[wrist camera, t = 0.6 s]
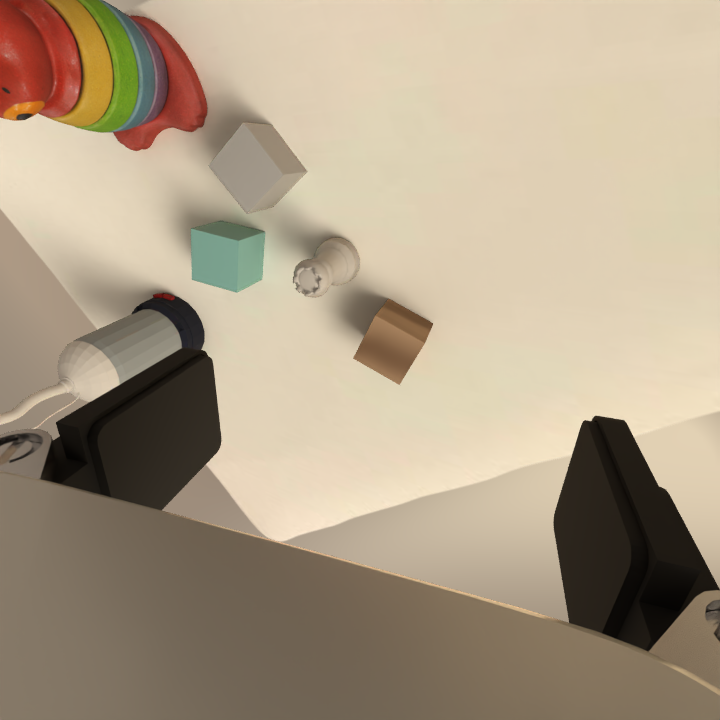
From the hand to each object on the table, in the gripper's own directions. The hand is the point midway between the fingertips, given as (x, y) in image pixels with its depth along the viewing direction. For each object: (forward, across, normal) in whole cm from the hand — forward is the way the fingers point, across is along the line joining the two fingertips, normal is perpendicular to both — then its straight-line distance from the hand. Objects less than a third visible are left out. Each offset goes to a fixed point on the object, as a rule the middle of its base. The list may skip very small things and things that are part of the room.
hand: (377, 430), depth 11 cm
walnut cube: (+32, +5, +10) cm, 34 cm away
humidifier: (+33, +32, +13) cm, 48 cm away
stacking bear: (+32, +30, -12) cm, 46 cm away
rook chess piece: (+32, +11, +3) cm, 34 cm away
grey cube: (+32, +18, -5) cm, 37 cm away
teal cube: (+32, +22, +3) cm, 39 cm away
